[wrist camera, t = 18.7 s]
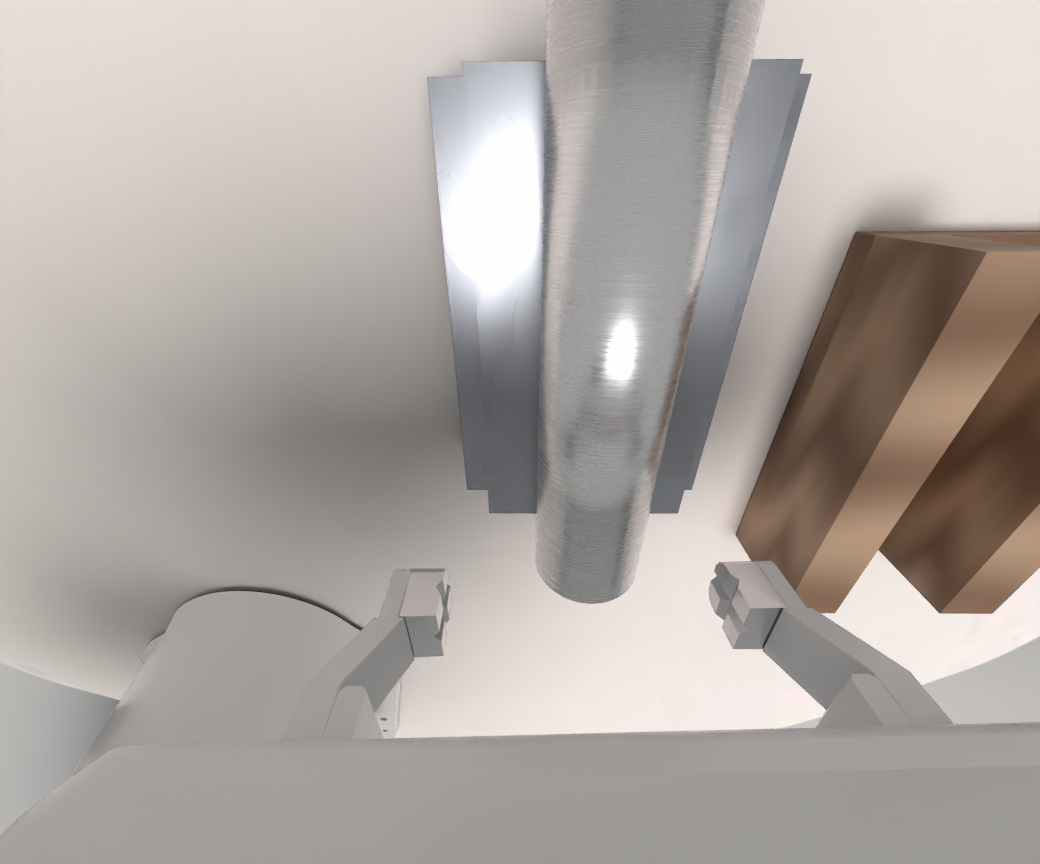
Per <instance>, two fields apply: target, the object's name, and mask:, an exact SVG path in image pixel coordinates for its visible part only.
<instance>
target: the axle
mask: <svg viewBox="0 0 1040 864" xmlns="http://www.w3.org/2000/svg"><path fill="white" fill-rule="evenodd" d="M764 4H765V0H547V41H546V88H545V135H544V182H543V230H542V277H541V324H540V372H539V419H538V466H537V513H536V566H537V569H538V572H539V574H540V576H541V578H542V579H543V581H544V582H545V583H546V584H547V585H548V586H549V587H550V588H551V589H552V590H553V591H555V592H556V593H558V594H559V595H561V596H563V597H565V598H567V599H570V600H572V601H576V602H581V603H591V604H595V603H603V602H608V601H611V600H613V599H615V598H617V597H619V596H621V595H622V594H623V593H625V592H626V591H627V590H628V589H629V587H630V586H631V584H632V582H633V580H634V577H635V573H636V569H637V564H638V560H639V555H640V551H641V547H642V542H643V538H644V533H645V529H646V525H647V520H648V516H649V511H650V507H651V502H652V498H653V494H654V489H655V485H656V480H657V476H658V472H659V467H660V463H661V458H662V454H663V450H664V445H665V441H666V436H667V432H668V428H669V423H670V419H671V414H672V410H673V405H674V401H675V397H676V392H677V388H678V383H679V379H680V375H681V370H682V366H683V361H684V357H685V353H686V348H687V344H688V339H689V335H690V331H691V326H692V322H693V317H694V313H695V309H696V304H697V300H698V295H699V291H700V286H701V282H702V278H703V273H704V269H705V264H706V260H707V256H708V251H709V247H710V242H711V238H712V234H713V229H714V225H715V220H716V216H717V212H718V207H719V203H720V198H721V194H722V189H723V185H724V181H725V176H726V172H727V167H728V163H729V159H730V154H731V150H732V145H733V141H734V137H735V132H736V128H737V123H738V119H739V115H740V110H741V106H742V101H743V97H744V93H745V88H746V84H747V79H748V75H749V70H750V66H751V62H752V57H753V53H754V48H755V44H756V40H757V35H758V31H759V26H760V22H761V18H762V13H763V9H764Z"/></svg>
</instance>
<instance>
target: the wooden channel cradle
mask: <svg viewBox="0 0 1040 864" xmlns="http://www.w3.org/2000/svg"><path fill="white" fill-rule="evenodd" d="M736 536H737V538H738V540H739V541H740V543H741V544H742V546H743V548H744V549H745V551H746V553H747V554H748V556H749V558H750V559H751V561H752V562H753V561H771V562H773V563H774V564H775V565H776V566H777V567H778V569H779V570H780V572H781V573H782V574H783V576H784V577H785V578H786V580H787V581H788V582H789V584H790V585H791V587H792V588H793V589H794V591H795V592H796V593H797V595H798V596H799V598H800V599H801V600H802V602H803V603H804V604H805V606H806V607H807V608H813V609H814V610H816V611H818V612H819V613H835V612H836V611H837V609H838V608H839V606H840V605H841V603H842V602H843V601H844V599H845V598H846V596H847V595H848V593H849V592H850V590H851V589H852V587H853V586H854V584H855V583H856V581H857V580H858V579H859V577H860V576H861V574H862V573H863V571H864V570H865V568H866V567H867V565H868V564H869V562H870V561H871V559H872V558H873V556H874V555H875V554H876V552H877V551H878V550H879V551H880V552H881V553H882V554H883V555H884V556H885V557H886V558H887V559H888V560H889V561H890V562H891V563H892V564H893V566H894V567H895V568H896V569H897V570H898V571H899V572H900V573H901V574H902V575H903V576H904V577H905V578H906V579H907V580H908V581H909V582H910V583H911V584H912V585H913V586H914V587H915V588H916V589H917V590H918V591H919V592H920V593H921V595H922V596H923V597H924V598H925V599H926V600H927V601H928V602H929V603H930V604H931V605H932V606H933V607H934V608H935V609H936V610H937V611H938V612H939V613H971V614H992V613H993V612H994V611H995V610H996V609H997V608H999V607H1000V606H1001V605H1002V604H1003V603H1004V602H1005V601H1006V600H1007V599H1008V598H1009V597H1010V596H1011V595H1012V594H1013V593H1014V592H1015V591H1016V590H1017V589H1018V588H1019V587H1020V586H1021V585H1022V584H1023V583H1024V582H1025V581H1026V580H1027V579H1028V578H1029V577H1030V576H1031V575H1032V574H1033V573H1034V572H1035V571H1037V570H1038V569H1039V568H1040V231H991V232H856V234H855V236H854V239H853V241H852V244H851V246H850V249H849V251H848V254H847V256H846V259H845V261H844V264H843V266H842V269H841V271H840V274H839V276H838V279H837V281H836V284H835V287H834V289H833V292H832V294H831V297H830V299H829V302H828V304H827V307H826V309H825V312H824V314H823V317H822V319H821V322H820V324H819V327H818V329H817V332H816V334H815V337H814V339H813V342H812V344H811V347H810V350H809V352H808V355H807V357H806V360H805V362H804V365H803V367H802V370H801V372H800V375H799V377H798V380H797V382H796V385H795V387H794V390H793V392H792V395H791V397H790V400H789V402H788V405H787V407H786V410H785V413H784V415H783V418H782V420H781V423H780V425H779V428H778V430H777V433H776V435H775V438H774V440H773V443H772V445H771V448H770V450H769V453H768V455H767V458H766V460H765V463H764V465H763V468H762V471H761V473H760V476H759V478H758V481H757V483H756V486H755V488H754V491H753V493H752V496H751V498H750V501H749V503H748V506H747V508H746V511H745V513H744V516H743V518H742V521H741V523H740V526H739V528H738V531H737V534H736Z"/></svg>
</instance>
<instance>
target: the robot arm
mask: <svg viewBox="0 0 1040 864" xmlns="http://www.w3.org/2000/svg"><path fill="white" fill-rule="evenodd" d="M714 571H715V573H716V575H717V577H715V578H714V579H713V580H712V581H711V582H710V586H709V599H710V602H711V605H712V608H713V610H714V612H715V614H717V615H718V616H719V617H721V618H722V619H723V620H724V622H723V626H722V628H723V630H724V632H725V634H726V636H727V638H728V640H729V642H730V644H731V646H732V648H733V649H763V650H762V651H763V652H764V653H765V654H767V655H768V656H769V657H770V658H771V659H772V660H773V661H774V662H775V663H776V664H777V665H778V666H780V667H781V668H782V669H783V670H784V671H785V672H786V673H787V674H788V675H789V676H790V677H791V678H792V679H794V680H795V681H796V682H797V683H798V684H799V685H800V686H801V687H802V688H803V689H804V690H805V691H806V692H808V693H809V694H810V695H811V696H812V697H813V698H814V699H815V700H816V701H817V702H818V703H819V704H821V705H822V706H823V707H824V708H825V709H826V711H825V713H824V714H823V715H822V717H821V718H820V720H819V721H818V723H817V725H816V728H788V729H787V728H786V729H746V730H706V731H666V732H625V733H586V734H548V735H510V736H471V737H430V738H395V735H396V732H397V729H398V718H399V702H400V686H401V676H402V675H403V674H404V672H405V671H406V670H407V668H408V667H409V666H410V664H411V663H412V661H413V660H414V657H429V656H444V650H445V644H446V638H447V630H446V622H447V621H448V620H449V618H450V610H451V590H450V586H448V585H447V583H448V571H447V569H396V570H395V572H394V573H393V575H392V578H391V582H390V585H389V588H388V591H387V594H386V597H385V600H384V603H383V606H382V610H381V613H380V616H379V618H373V619H372V620H371V621H370V622H369V623H368V624H367V625H366V626H365V627H364V628H363V629H362V630H361V631H360V630H358V629H356V628H355V627H353V626H352V625H350V624H349V623H347V622H345V621H344V620H342V619H341V618H339V617H337V616H336V615H334V614H332V613H330V612H328V611H326V610H324V609H321V608H319V607H317V606H314V605H312V604H309V603H306V602H303V601H300V600H296V599H293V598H289V597H285V596H280V595H275V594H269V593H262V592H251V591H227V592H217V593H211V594H207V595H203V596H200V597H197V598H194V599H192V600H190V601H188V602H186V603H185V604H183V605H182V606H181V607H179V608H178V609H177V611H176V612H175V613H174V615H173V617H172V619H171V621H170V623H169V625H168V627H167V629H166V631H165V633H164V634H162V635H160V636H158V637H157V638H155V639H153V640H152V641H151V642H150V643H149V645H148V646H147V648H146V649H145V651H144V652H143V654H142V655H141V661H142V662H143V663H144V666H143V667H142V669H141V670H140V672H139V673H138V675H137V676H136V678H135V679H134V681H133V682H132V684H131V685H130V687H129V688H128V690H127V691H126V693H125V694H124V696H123V697H122V699H121V700H120V702H119V703H118V705H117V707H116V708H115V709H114V711H113V712H112V714H111V715H110V717H109V719H108V720H107V722H106V723H105V725H104V726H103V728H102V729H101V731H100V732H99V734H98V735H97V737H96V738H95V740H94V742H93V743H92V745H91V746H90V748H89V749H88V751H87V752H86V754H85V755H84V757H83V758H82V760H81V761H80V763H79V765H78V766H77V768H76V770H75V771H74V773H73V774H72V776H71V778H70V779H69V780H68V781H66V782H65V783H64V784H62V785H61V786H60V787H58V788H57V789H56V790H54V791H53V792H51V793H50V794H49V795H47V796H46V797H45V798H44V799H42V800H41V801H39V802H38V803H37V804H36V805H34V806H33V807H32V808H31V809H29V810H28V811H27V812H25V813H24V814H23V815H22V816H20V817H19V818H18V819H17V820H16V821H15V822H14V823H12V824H11V825H10V826H9V827H8V828H7V829H6V830H5V831H4V832H3V833H2V835H1V836H0V864H1040V722H1025V723H1024V722H1022V723H986V724H953V722H952V721H951V720H950V719H949V718H948V717H947V715H946V714H945V713H944V712H943V711H942V709H941V708H940V707H939V706H938V705H937V703H936V702H935V701H934V700H933V699H932V697H931V696H930V695H929V694H928V693H927V692H926V690H925V689H924V688H923V687H922V685H921V684H920V683H919V682H918V681H917V680H916V678H915V677H914V676H913V675H912V674H911V672H910V671H908V670H907V669H905V668H904V667H902V666H901V665H899V664H898V663H896V662H894V661H893V660H891V659H890V658H888V657H887V656H885V655H884V654H882V653H881V652H879V651H878V650H876V649H874V648H873V647H871V646H870V645H868V644H867V643H865V642H864V641H862V640H861V639H859V638H858V637H856V636H854V635H853V634H851V633H850V632H848V631H847V630H845V629H844V628H842V627H841V626H839V625H838V624H836V623H834V622H833V621H831V620H830V619H828V618H827V617H825V616H824V615H822V614H821V613H819V612H818V611H816V610H814V609H813V608H807V607H806V606H805V604H804V603H803V602H802V600H801V599H800V598H799V596H798V595H797V593H796V592H795V591H794V589H793V588H792V587H791V585H790V584H789V582H788V581H787V580H786V578H785V577H784V576H783V574H782V573H781V572H780V570H779V569H778V567H777V566H776V565H775V564H774V563H773V562H771V561H753V562H752V561H739V562H719V563H718V564H717V565H716V568H715V570H714Z"/></svg>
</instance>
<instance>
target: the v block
mask: <svg viewBox="0 0 1040 864" xmlns="http://www.w3.org/2000/svg"><path fill="white" fill-rule="evenodd" d="M802 63H803V59H753V60H752V62H751V66H750V70H749V75H748V79H747V84H746V88H745V93H744V97H743V101H742V106H741V110H740V115H739V119H738V123H737V128H736V132H735V137H734V141H733V145H732V150H731V154H730V159H729V163H728V167H727V172H726V176H725V181H724V185H723V189H722V194H721V198H720V203H719V207H718V212H717V216H716V220H715V225H714V229H713V234H712V238H711V242H710V247H709V251H708V256H707V260H706V264H705V269H704V273H703V278H702V282H701V286H700V291H699V295H698V300H697V304H696V309H695V313H694V317H693V322H692V326H691V331H690V335H689V339H688V344H687V348H686V353H685V357H684V361H683V366H682V370H681V375H680V379H679V383H678V388H677V392H676V397H675V401H674V405H673V410H672V414H671V419H670V423H669V428H668V432H667V436H666V441H665V445H664V450H663V454H662V458H661V463H660V467H659V472H658V476H657V480H656V485H655V489H654V494H653V498H652V502H651V507H650V511H649V513H678V511H679V507H680V504H681V500H682V496H683V493H684V490H692V486H693V483H694V479H695V476H696V472H697V469H698V465H699V462H700V459H701V455H702V452H703V448H704V445H705V441H706V438H707V434H708V431H709V427H710V424H711V421H712V417H713V414H714V410H715V407H716V403H717V400H718V396H719V393H720V389H721V386H722V383H723V379H724V376H725V372H726V369H727V365H728V362H729V358H730V355H731V351H732V348H733V344H734V341H735V338H736V334H737V331H738V327H739V324H740V320H741V317H742V313H743V310H744V306H745V303H746V300H747V296H748V293H749V289H750V286H751V282H752V279H753V275H754V272H755V268H756V265H757V262H758V258H759V255H760V251H761V248H762V244H763V241H764V237H765V234H766V230H767V227H768V223H769V220H770V217H771V213H772V210H773V206H774V203H775V199H776V196H777V192H778V189H779V185H780V182H781V179H782V175H783V172H784V168H785V165H786V161H787V158H788V154H789V151H790V147H791V144H792V141H793V137H794V134H795V130H796V127H797V123H798V120H799V116H800V113H801V109H802V106H803V102H804V99H805V96H806V92H807V89H808V85H809V82H810V78H811V75H812V74H800V70H801V67H802ZM462 76H463V77H427V81H428V91H429V102H430V112H431V122H432V132H433V143H434V153H435V163H436V174H437V184H438V194H439V204H440V215H441V225H442V235H443V246H444V256H445V266H446V276H447V287H448V297H449V307H450V318H451V328H452V338H453V348H454V359H455V369H456V379H457V390H458V400H459V410H460V420H461V431H462V441H463V451H464V462H465V472H466V482H467V490H488V499H489V513H537V466H538V419H539V372H540V324H541V277H542V230H543V182H544V135H545V88H546V61H507V62H462Z"/></svg>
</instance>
